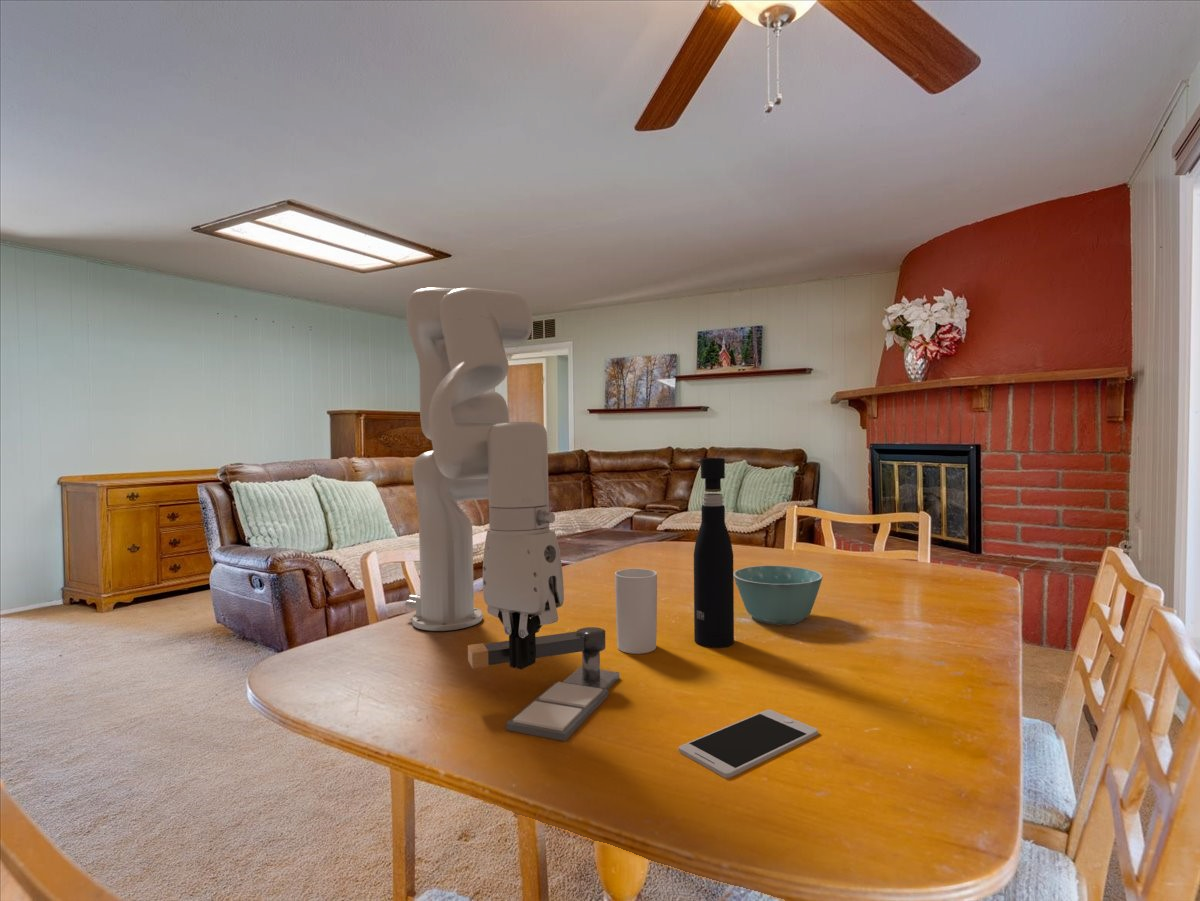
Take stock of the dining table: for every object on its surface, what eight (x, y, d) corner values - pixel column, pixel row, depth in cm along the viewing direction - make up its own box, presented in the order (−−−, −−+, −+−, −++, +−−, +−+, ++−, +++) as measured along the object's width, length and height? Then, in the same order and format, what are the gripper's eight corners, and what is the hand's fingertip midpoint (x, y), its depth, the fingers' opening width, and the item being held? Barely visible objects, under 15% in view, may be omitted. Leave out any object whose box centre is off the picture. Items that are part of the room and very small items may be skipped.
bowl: (726, 626, 113) (726, 579, 112) (741, 603, 127) (741, 562, 127) (820, 635, 107) (819, 586, 106) (824, 610, 121) (824, 567, 121)
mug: (665, 651, 100) (664, 575, 99) (625, 657, 97) (624, 579, 97) (638, 632, 109) (637, 563, 109) (602, 637, 107) (601, 566, 106)
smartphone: (819, 736, 72) (819, 728, 72) (726, 782, 63) (726, 773, 63) (769, 715, 78) (768, 707, 78) (676, 754, 69) (676, 746, 69)
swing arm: (599, 641, 90) (598, 625, 90) (609, 650, 86) (609, 634, 86) (467, 660, 83) (467, 643, 83) (473, 670, 80) (472, 653, 79)
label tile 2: (532, 707, 80) (532, 698, 80) (556, 687, 86) (556, 679, 86) (588, 717, 77) (588, 708, 77) (608, 695, 83) (608, 687, 83)
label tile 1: (506, 730, 74) (505, 720, 74) (533, 707, 80) (533, 698, 80) (565, 741, 71) (564, 731, 71) (588, 716, 77) (588, 707, 77)
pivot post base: (562, 687, 86) (561, 654, 86) (580, 672, 92) (580, 641, 91) (603, 694, 84) (602, 660, 84) (619, 677, 89) (619, 646, 89)
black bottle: (736, 637, 106) (735, 457, 105) (731, 649, 100) (730, 459, 99) (698, 633, 108) (696, 457, 108) (690, 645, 102) (689, 459, 101)
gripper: (585, 519, 79) (588, 666, 79) (495, 514, 87) (499, 648, 88) (547, 526, 73) (551, 686, 73) (455, 520, 81) (458, 664, 81)
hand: (522, 665), depth 80 cm, fingers closed
